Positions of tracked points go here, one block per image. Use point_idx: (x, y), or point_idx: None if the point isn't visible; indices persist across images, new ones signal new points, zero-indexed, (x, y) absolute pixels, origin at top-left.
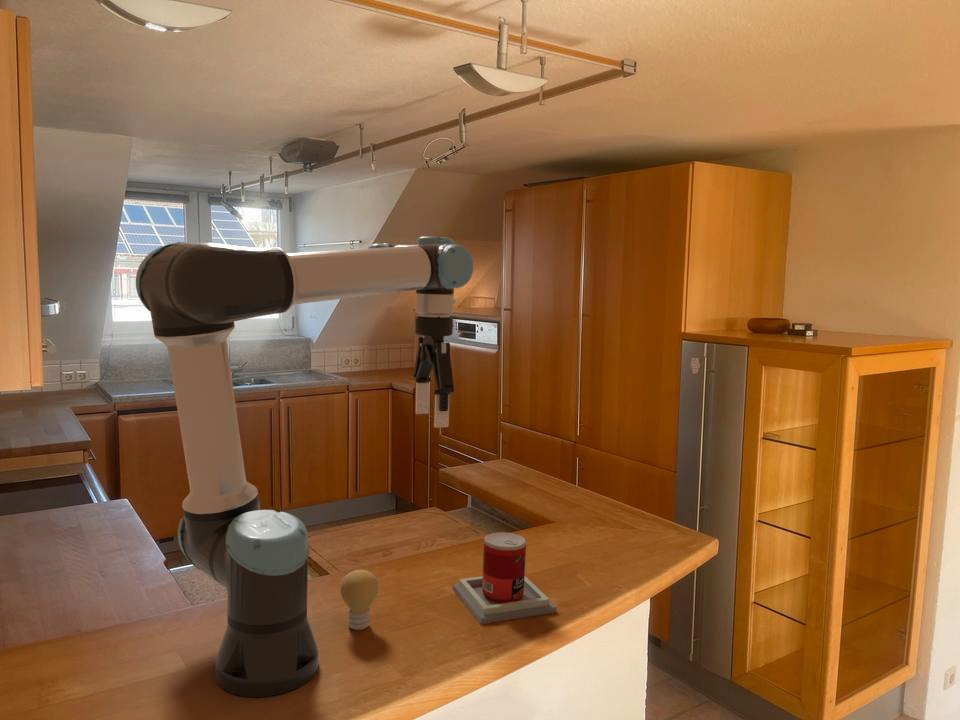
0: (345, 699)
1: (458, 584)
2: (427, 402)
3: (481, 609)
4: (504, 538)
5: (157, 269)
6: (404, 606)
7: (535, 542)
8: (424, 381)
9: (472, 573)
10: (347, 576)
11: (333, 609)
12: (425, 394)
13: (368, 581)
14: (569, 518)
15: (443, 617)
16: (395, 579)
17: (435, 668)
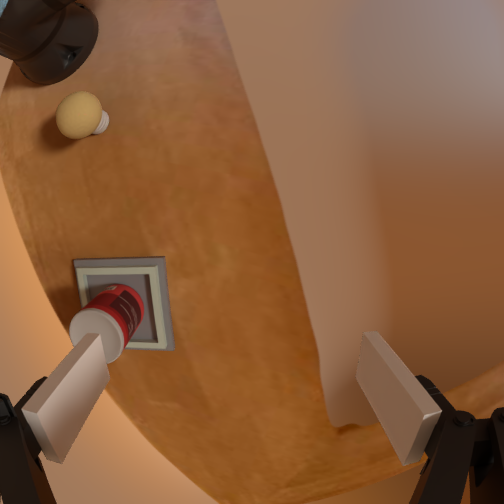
0: (5, 110)
1: (159, 264)
2: (371, 399)
3: (84, 267)
4: (105, 341)
5: None
6: (131, 182)
7: (284, 400)
8: (428, 450)
9: (205, 296)
10: (72, 96)
11: (147, 96)
12: (386, 413)
13: (57, 123)
14: (341, 449)
15: (96, 222)
16: (212, 187)
17: (18, 190)
